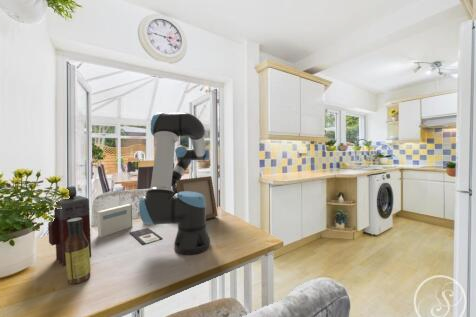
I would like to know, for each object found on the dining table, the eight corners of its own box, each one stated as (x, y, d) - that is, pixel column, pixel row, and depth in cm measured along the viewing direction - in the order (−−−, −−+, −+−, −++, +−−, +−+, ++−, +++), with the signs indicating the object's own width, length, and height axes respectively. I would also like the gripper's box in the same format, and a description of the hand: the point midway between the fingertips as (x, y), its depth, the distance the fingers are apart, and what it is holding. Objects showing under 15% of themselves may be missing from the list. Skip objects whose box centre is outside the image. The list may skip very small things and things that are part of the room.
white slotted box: (101, 237, 105) (100, 212, 104) (98, 235, 106) (97, 211, 106) (132, 226, 119) (131, 204, 118) (128, 225, 120) (128, 204, 120)
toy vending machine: (48, 261, 83) (44, 187, 81) (83, 250, 92) (80, 183, 90) (55, 269, 77) (51, 190, 76) (91, 256, 86) (88, 186, 85)
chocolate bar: (147, 227, 115) (162, 238, 102) (148, 229, 116) (162, 240, 102) (129, 232, 109) (142, 243, 96) (129, 234, 109) (142, 245, 96)
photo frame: (217, 217, 133) (216, 176, 132) (185, 226, 118) (184, 180, 117) (204, 212, 144) (203, 174, 143) (173, 220, 129) (171, 178, 128)
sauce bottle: (95, 273, 74) (92, 215, 73) (82, 284, 68) (80, 222, 67) (75, 273, 74) (72, 216, 73) (61, 285, 68) (58, 222, 67)
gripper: (193, 178, 145) (177, 206, 132) (167, 176, 157) (150, 201, 145) (187, 171, 140) (170, 199, 128) (160, 169, 152) (142, 195, 140)
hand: (159, 200), depth 136 cm, fingers open, 13 cm apart
